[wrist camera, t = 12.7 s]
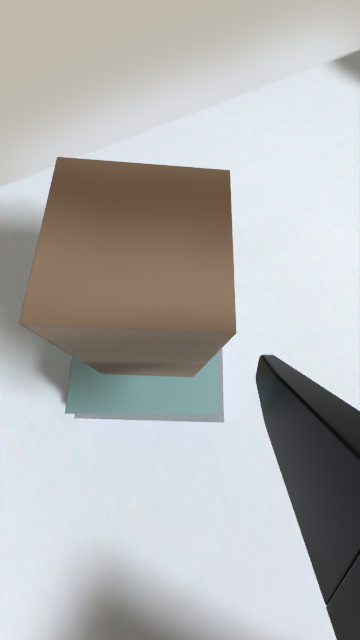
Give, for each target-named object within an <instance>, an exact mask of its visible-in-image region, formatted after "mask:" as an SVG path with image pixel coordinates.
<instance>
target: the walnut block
mask: <svg viewBox="0 0 360 640" xmlns="http://www.w3.org/2000/svg"><path fill="white" fill-rule="evenodd" d="M20 324H21V325H23V326H25V327H26V328H28V329H30V330H31V331H33V332H34V333H36V334H38V335H39V336H41V337H43V338H44V339H46V340H48V341H49V342H51V343H52V344H54V345H56V346H57V347H59V348H61V349H62V350H64V351H65V352H67V353H69V354H70V355H72V356H74V357H75V358H77V359H79V360H80V361H82V362H83V363H85V364H87V365H88V366H90V367H92V368H93V369H95V370H96V371H98V372H100V373H101V374H117V375H145V376H173V377H194V376H195V375H196V374H197V373H198V372H199V371H200V370H201V369H202V368H203V367H204V366H205V365H206V364H207V363H208V362H209V361H210V360H211V359H212V358H213V356H214V355H215V354H216V353H217V352H218V351H219V350H220V349H221V348H222V347H223V346H224V345H225V344H226V343H227V342H228V341H229V340H230V339H231V338H232V337H233V336H234V335H235V334H236V315H235V290H234V264H233V239H232V214H231V188H230V170H219V169H206V168H193V167H180V166H167V165H154V164H141V163H128V162H115V161H103V160H90V159H77V158H63V157H57V160H56V164H55V169H54V173H53V178H52V182H51V186H50V191H49V195H48V200H47V204H46V208H45V213H44V217H43V222H42V226H41V230H40V235H39V239H38V244H37V248H36V252H35V257H34V261H33V266H32V270H31V274H30V279H29V283H28V288H27V292H26V296H25V301H24V305H23V310H22V314H21V318H20Z"/></svg>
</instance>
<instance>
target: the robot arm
mask: <svg viewBox="0 0 360 640" xmlns="http://www.w3.org/2000/svg"><path fill="white" fill-rule="evenodd" d="M256 384H257V389H258V394H259V398H260V403H261V408H262V413H263V417H264V422H265V425H266V429H267V432H268V435H269V438H270V441H271V444H272V447H273V450H274V453H275V456H276V459H277V462H278V465H279V468H280V471H281V474H282V477H283V480H284V483H285V486H286V488H287V491H288V494H289V497H290V500H291V503H292V506H293V509H294V512H295V515H296V518H297V521H298V524H299V527H300V530H301V533H302V536H303V539H304V542H305V545H306V548H307V551H308V554H309V557H310V560H311V563H312V566H313V569H314V572H315V575H316V578H317V581H318V584H319V587H320V590H321V593H322V596H323V599H324V602H325V604H326V605H327V606H326V609H327V612H328V615H329V617H330V620H331V623H332V626H333V629H334V632H335V635H336V638H337V640H360V411H359V410H357V409H355V408H354V407H352V406H351V405H349V404H348V403H346V402H345V401H343V400H342V399H340V398H339V397H337V396H336V395H334V394H332V393H331V392H329V391H328V390H326V389H325V388H323V387H322V386H320V385H319V384H317V383H316V382H314V381H312V380H311V379H309V378H308V377H306V376H305V375H303V374H302V373H300V372H299V371H297V370H296V369H294V368H292V367H291V366H289V365H288V364H286V363H285V362H283V361H282V360H280V359H279V358H277V357H276V356H274V355H261V356H260V358H259V362H258V367H257V373H256Z"/></svg>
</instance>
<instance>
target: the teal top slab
mask: <svg viewBox="0 0 360 640" xmlns="http://www.w3.org/2000/svg"><path fill="white" fill-rule="evenodd" d="M65 413H94V414H219V406H218V380H217V353H216V354H215V355H214V356H213V358H212V359H211V360H210V361H209V362H208V363H207V364H206V365H205V366H204V367H203V368H202V369H201V370H200V371H199V372H198V373H197V374H196V375H195V376H194V377H173V376H145V375H117V374H101V373H100V372H98V371H96V370H95V369H93V368H92V367H90V366H88V365H87V364H85V363H83V362H82V361H80V360H79V359H77V358H75V357H74V356H72V363H71V370H70V378H69V386H68V394H67V402H66V410H65Z"/></svg>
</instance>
